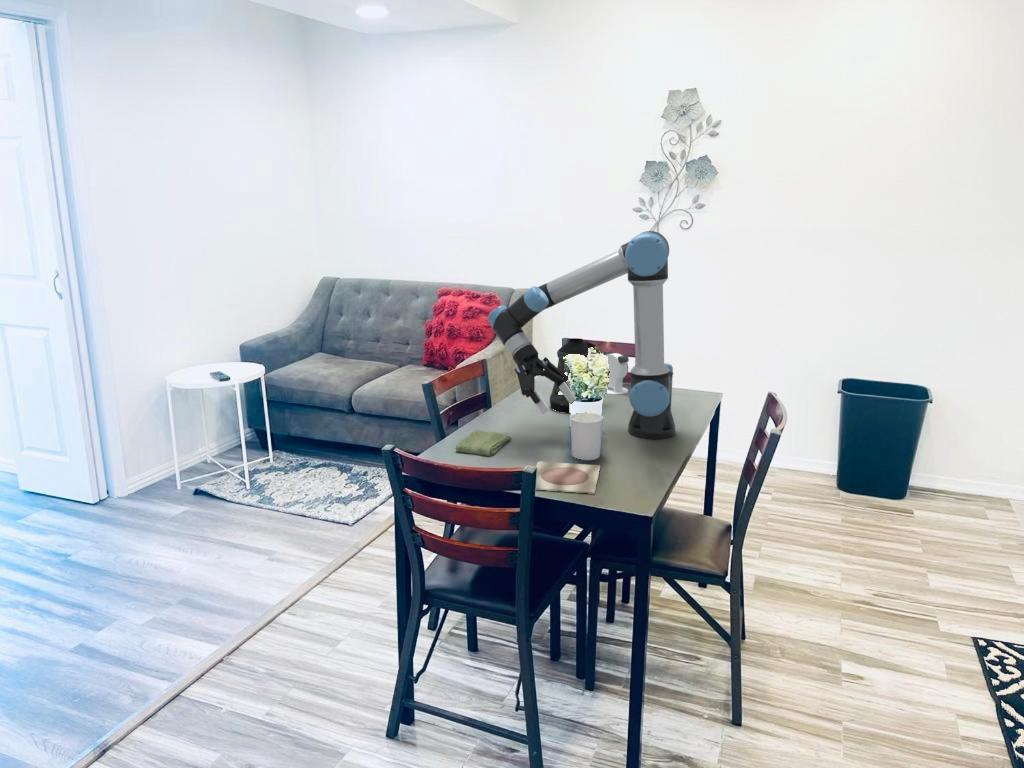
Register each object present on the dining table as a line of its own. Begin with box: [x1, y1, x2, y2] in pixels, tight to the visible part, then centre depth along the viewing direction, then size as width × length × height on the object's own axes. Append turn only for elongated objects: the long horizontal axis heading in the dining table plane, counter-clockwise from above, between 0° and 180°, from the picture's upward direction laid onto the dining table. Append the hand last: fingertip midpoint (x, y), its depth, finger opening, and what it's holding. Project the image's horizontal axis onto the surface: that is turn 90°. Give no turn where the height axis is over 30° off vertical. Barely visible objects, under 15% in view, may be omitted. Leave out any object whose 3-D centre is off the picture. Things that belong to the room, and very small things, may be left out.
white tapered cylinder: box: [569, 412, 604, 461], centre depth 224 cm, size 10×10×12 cm
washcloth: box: [455, 429, 512, 457], centre depth 234 cm, size 13×18×3 cm
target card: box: [535, 461, 601, 495], centre depth 208 cm, size 18×20×1 cm
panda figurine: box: [603, 350, 630, 396], centre depth 294 cm, size 12×11×15 cm
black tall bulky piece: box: [549, 337, 601, 414], centre depth 272 cm, size 16×19×25 cm
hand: (560, 406), depth 228 cm, fingers open, 13 cm apart
